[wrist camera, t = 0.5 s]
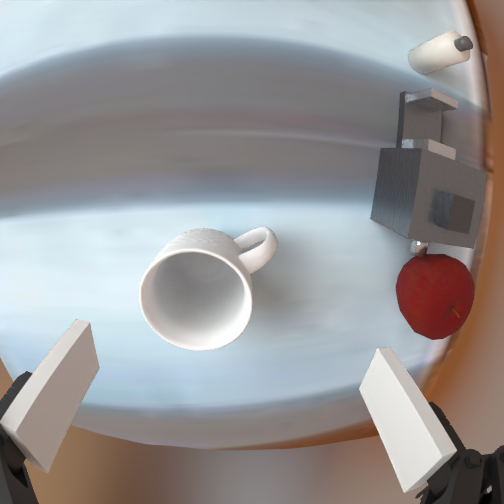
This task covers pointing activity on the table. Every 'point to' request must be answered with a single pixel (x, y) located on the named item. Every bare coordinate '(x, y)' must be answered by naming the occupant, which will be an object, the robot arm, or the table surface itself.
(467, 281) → the apple
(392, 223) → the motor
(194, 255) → the mug
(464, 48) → the white bottle
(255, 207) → the table surface
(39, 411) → the robot arm
